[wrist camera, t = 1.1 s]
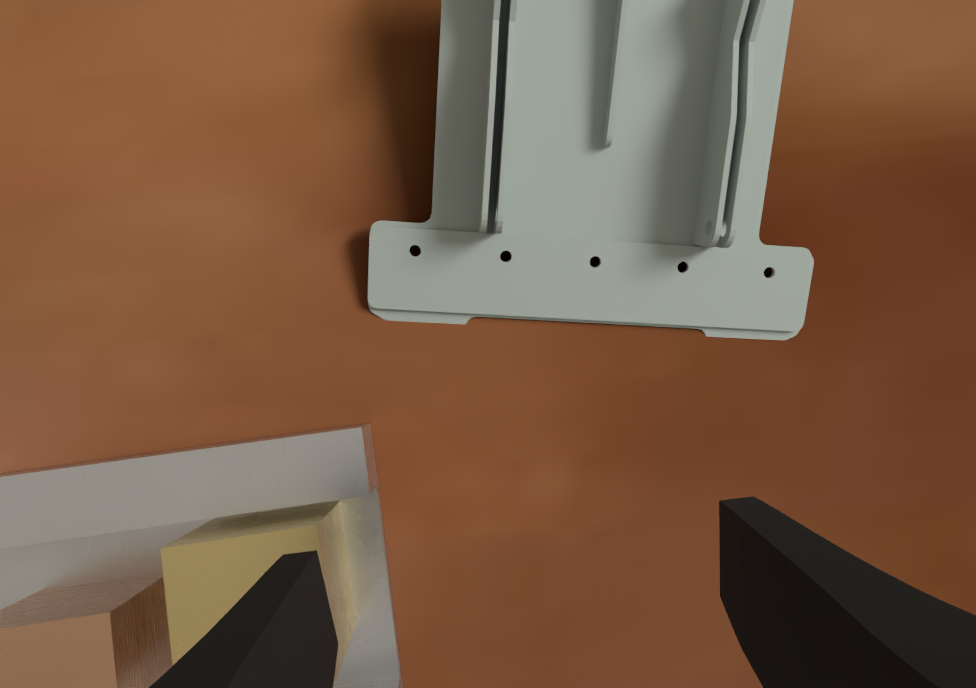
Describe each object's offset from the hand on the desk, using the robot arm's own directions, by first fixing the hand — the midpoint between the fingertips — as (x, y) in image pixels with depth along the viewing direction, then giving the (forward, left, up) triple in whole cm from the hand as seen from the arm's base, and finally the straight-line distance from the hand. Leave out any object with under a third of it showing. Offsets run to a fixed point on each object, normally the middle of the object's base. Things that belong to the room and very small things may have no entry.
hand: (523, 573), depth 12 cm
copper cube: (-3, +12, -10) cm, 16 cm away
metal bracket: (+11, -5, -11) cm, 17 cm away
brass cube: (-2, +7, -10) cm, 12 cm away
